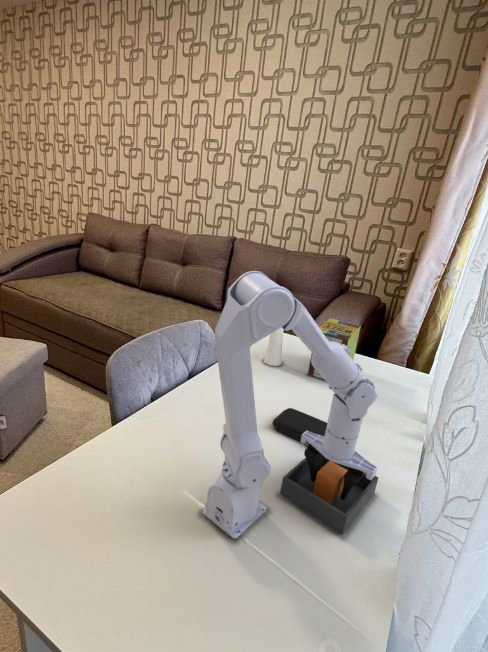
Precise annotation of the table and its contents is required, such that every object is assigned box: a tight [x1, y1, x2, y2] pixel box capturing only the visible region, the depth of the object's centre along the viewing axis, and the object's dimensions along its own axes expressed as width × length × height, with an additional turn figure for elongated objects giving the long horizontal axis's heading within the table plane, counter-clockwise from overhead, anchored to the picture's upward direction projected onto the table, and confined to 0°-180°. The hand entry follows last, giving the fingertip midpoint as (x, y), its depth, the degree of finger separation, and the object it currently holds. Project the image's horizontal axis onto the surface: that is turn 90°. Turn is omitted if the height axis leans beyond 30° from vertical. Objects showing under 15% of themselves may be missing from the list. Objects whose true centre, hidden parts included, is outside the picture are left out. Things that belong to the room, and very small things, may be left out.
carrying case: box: [271, 407, 328, 448], centre depth 96 cm, size 11×3×15 cm
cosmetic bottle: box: [263, 328, 285, 367], centre depth 129 cm, size 6×6×22 cm
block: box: [313, 461, 348, 505], centre depth 77 cm, size 5×4×6 cm
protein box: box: [307, 318, 362, 381], centre depth 127 cm, size 10×15×16 cm
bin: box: [279, 457, 379, 535], centre depth 78 cm, size 14×13×4 cm
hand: (329, 487), depth 78 cm, fingers open, 6 cm apart
